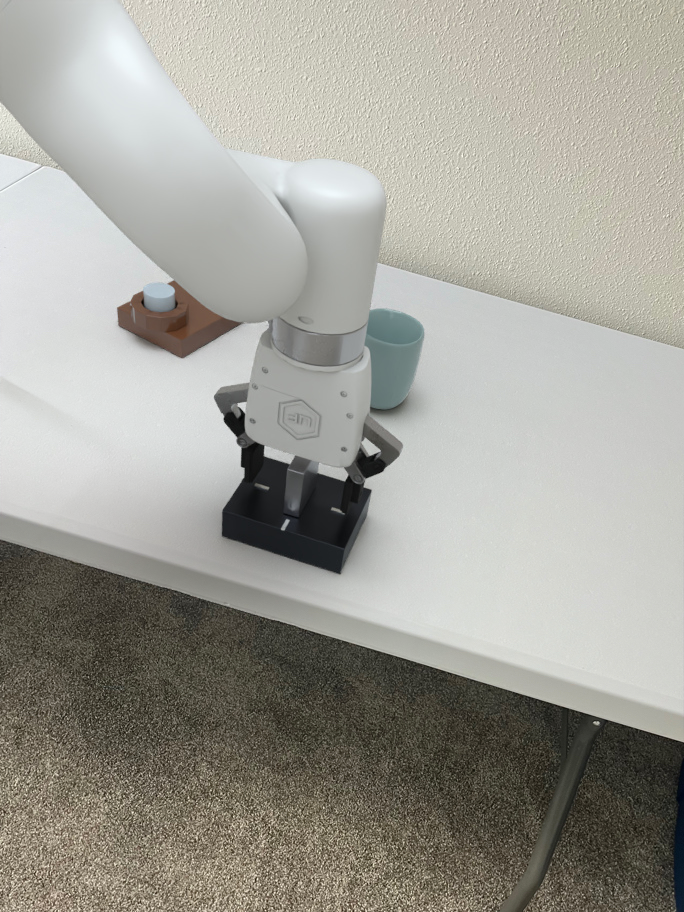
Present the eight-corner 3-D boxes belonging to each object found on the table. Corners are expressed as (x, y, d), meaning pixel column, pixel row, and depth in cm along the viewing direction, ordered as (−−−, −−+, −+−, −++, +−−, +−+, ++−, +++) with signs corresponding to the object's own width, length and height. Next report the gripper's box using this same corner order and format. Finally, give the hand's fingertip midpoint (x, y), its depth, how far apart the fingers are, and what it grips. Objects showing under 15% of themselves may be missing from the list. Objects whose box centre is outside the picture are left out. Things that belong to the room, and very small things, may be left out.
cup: (419, 395, 97) (435, 324, 90) (392, 426, 92) (408, 353, 85) (364, 372, 99) (376, 300, 92) (334, 401, 93) (344, 327, 86)
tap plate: (221, 537, 75) (221, 509, 72) (258, 479, 81) (259, 452, 79) (339, 575, 74) (344, 548, 71) (367, 514, 81) (372, 487, 78)
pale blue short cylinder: (161, 316, 92) (160, 301, 90) (137, 305, 93) (136, 289, 91) (181, 306, 94) (181, 290, 93) (158, 294, 95) (157, 279, 94)
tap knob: (298, 518, 73) (304, 472, 69) (282, 513, 73) (287, 466, 69) (316, 485, 77) (322, 440, 73) (300, 481, 77) (306, 435, 73)
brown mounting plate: (174, 362, 93) (173, 329, 90) (110, 329, 95) (107, 295, 92) (254, 316, 103) (255, 284, 100) (194, 287, 106) (193, 255, 103)
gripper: (196, 320, 60) (198, 486, 72) (410, 385, 59) (376, 542, 71) (236, 279, 65) (231, 440, 77) (433, 339, 64) (397, 492, 76)
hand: (300, 489), depth 74 cm, fingers open, 9 cm apart
